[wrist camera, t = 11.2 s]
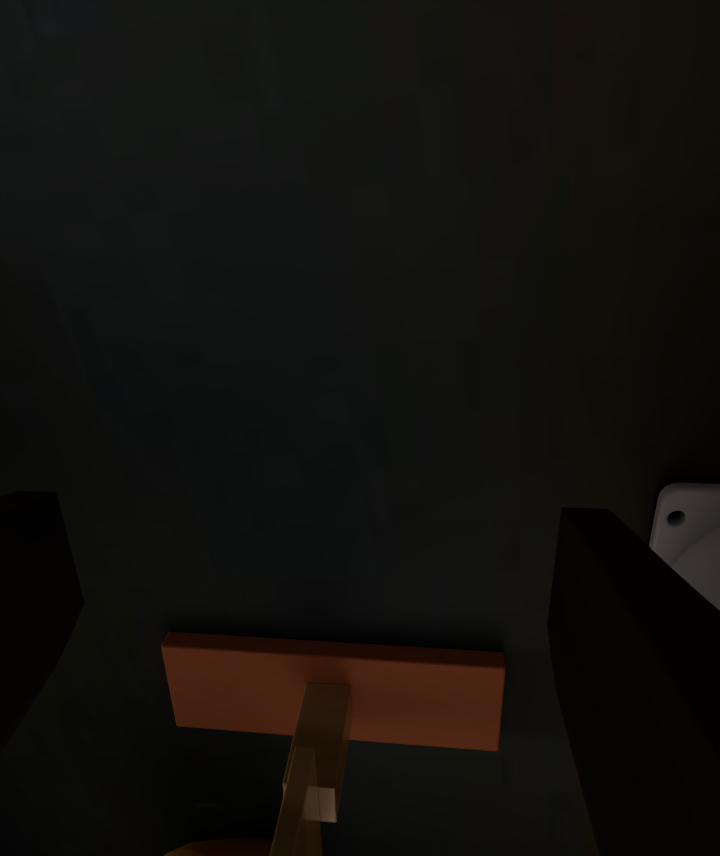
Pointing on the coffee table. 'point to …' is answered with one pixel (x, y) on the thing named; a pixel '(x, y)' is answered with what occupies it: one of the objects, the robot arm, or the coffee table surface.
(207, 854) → the apple
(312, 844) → the brown slab
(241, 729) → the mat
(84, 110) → the coffee table surface
